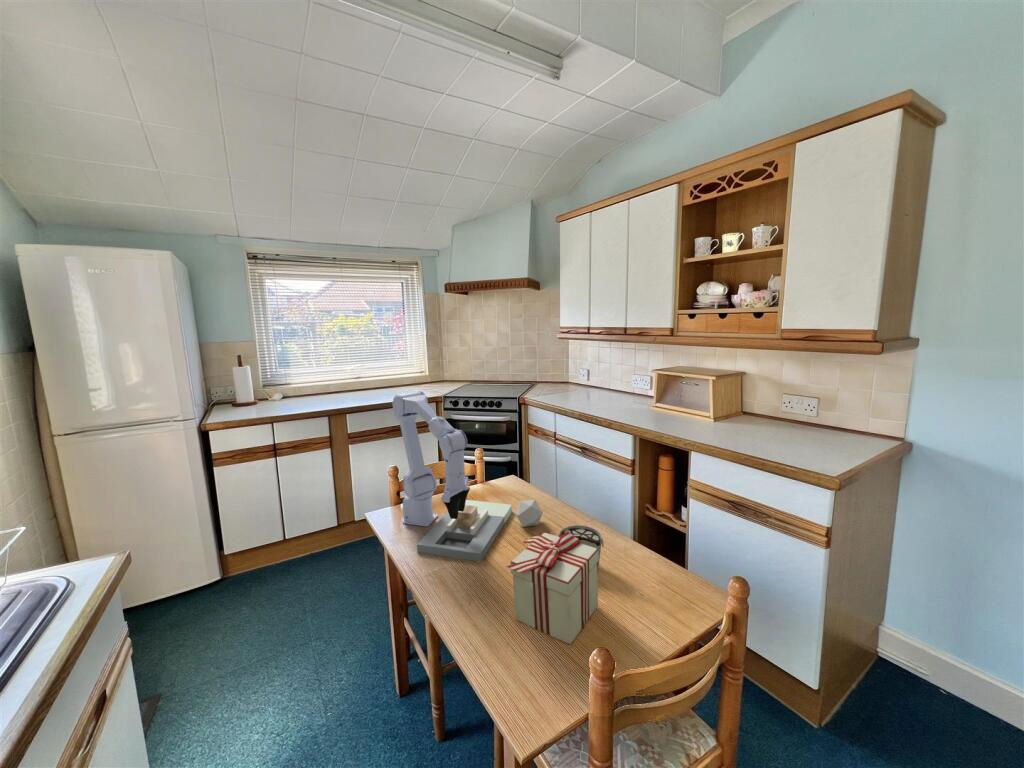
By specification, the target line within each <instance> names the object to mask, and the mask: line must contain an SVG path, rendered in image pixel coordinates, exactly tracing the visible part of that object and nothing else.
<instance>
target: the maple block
mask: <svg viewBox="0 0 1024 768" xmlns="http://www.w3.org/2000/svg"><path fill="white" fill-rule="evenodd" d="M477 519H478V511H477V506H469V505H465V508H464V511H463V512H462V511H458V518H457V525H458V527H465V528H471V526H472V525H473V524H474V523H475V521H476V520H477Z"/></svg>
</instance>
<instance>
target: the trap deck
mask: <svg viewBox="0 0 1024 768" xmlns="http://www.w3.org/2000/svg"><path fill="white" fill-rule="evenodd" d="M465 505H469V506H477V511H478V519H477V520H476V521H475V523H474V524H473V525H472V526H471V528H465V527H458V525H457V519H451V518H450V516H449V513H448V511H447V512H446V513H445V514H444V515H443V516H442V517H441V518H440V519H439V520H438V521H437V522H436V523H435V524H434V525H433V527H431V528H430V530H429V531H428V532H427V533H426V534H425V535H424V536H423V537H422V538H421V540H419V542H418V543H417V544H416V549H417V550H416V551H417V553H421V554H428V555H435V556H441V557H446V558H447V557H448V558H453V559H461V560H465V561H466V560H467V561H474V562H479V563H481V562H482V561H483V560H484V558H485V555H486V554H487V552H488V551H489V549H490V547H491V546H492V544H493V543H494V541H495V540H496V538H497V536H498V535H499V533H500V532H501V530H502V528H503V527H504V525H505V524H506V522H507V520H508V519H509V517H510V516H511V514H512V512H513V505H512V504H508V503H499V502H490V501H481V500H470V499H466V503H465Z"/></svg>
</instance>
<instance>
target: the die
mask: <svg viewBox="0 0 1024 768" xmlns="http://www.w3.org/2000/svg"><path fill="white" fill-rule="evenodd" d="M542 515H543V510H542V509H541V507H540V505H539V503H538V502H537V499H528V500H526V499H525V500H520V501H519V503H518V506H517V508H516V511H515V516H516V517H517V520H518V521H519V523H520V524H521V527H522V528H525V527H531V526H532V527H533V526H538V525H539V524H540V521H541V518H542Z"/></svg>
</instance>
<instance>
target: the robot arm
mask: <svg viewBox="0 0 1024 768" xmlns="http://www.w3.org/2000/svg"><path fill="white" fill-rule="evenodd" d="M391 404H392V409H393V413H394V417H395V420H396V421H399V426H400V431H401V435H402V440H403V445H404V449H405V454H406V459H407V464H408V467H409V468H408V471H406V473H405V474H404V475H403V478H402V479H403V492H404V494H405V496H404V497H403V501H402V512H403V513H402V515H403V521H402V524H406V525H413V526H420V527H429V526H430V525H431V524H432V523H433V522H434V521H435V520H436V519H437V518H438V517H439V514H438V513H434V507H433V506H434V505H433V495H434V493H435V492H434V491H436V490H437V487H438V486H437V484H438V482H437V478H436V477H435V474H434V472H433V469H432V468H431V467H428V466H426V465H425V461H424V456H423V451H422V447H421V446H422V445H421V442H420V437H419V433H418V428H417V423H416V420H417V418H418V416H419V417H421V419H422V420H423V421H424V422H426V423H427V424H428V430H429V432H430V433H431V434H432V435H433V436H434V438H436V440H437V441H438V445H439V448H440V450H441V454H442V455H441V456H442V458H443V459H444V473H445V487H444V491H443V493H442V495H441V501H442V503H443V504H444V506H445V507H446V510H447V512H448V513H449V516H450V518H451V519H457V518H458V511H462V512H463V511H464V508H465V503H466V500H467V497H468V494H469V493H470V490H471V487H470V485H468V484H469V477H468V476H466V474H465V472H466V471H465V455H464V451H465V449H466V448H467V447H468V438H467V435H466V434H465V432H464V431H463V430H461V429H457V428H454V427H453V426H452V425H451V424H450V423H449V422H448V421H447V419H446V418H445V417H443V416H438V415H437V414H436V412H435V411H434V410H433V408H432V407H431V406H430V404H429V401H428V396H427V395H426V393H424V391H423V390H418V391H413V392H409V393H408V392H407V393H401V394H395V395H394V397H393V400H392V403H391Z"/></svg>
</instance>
